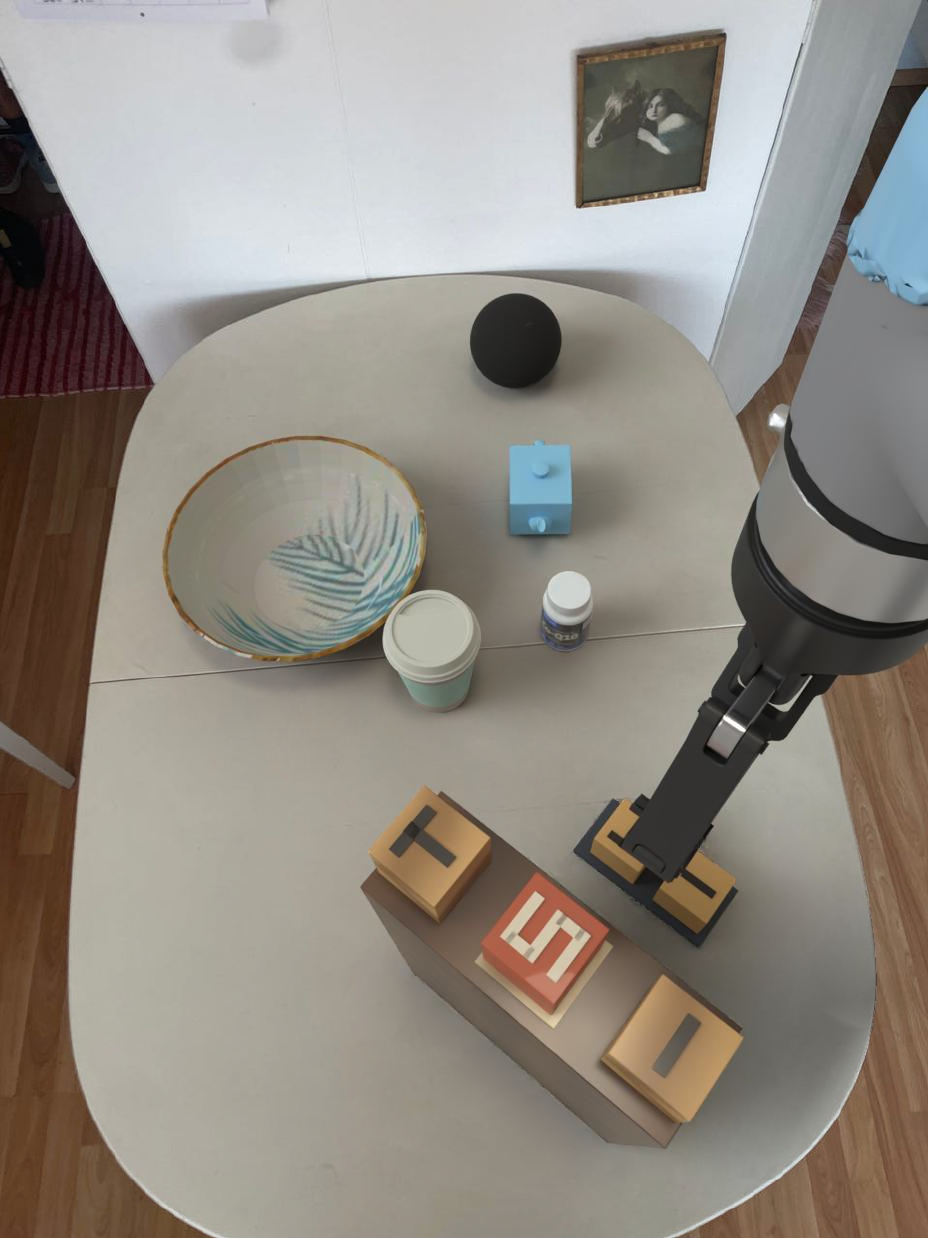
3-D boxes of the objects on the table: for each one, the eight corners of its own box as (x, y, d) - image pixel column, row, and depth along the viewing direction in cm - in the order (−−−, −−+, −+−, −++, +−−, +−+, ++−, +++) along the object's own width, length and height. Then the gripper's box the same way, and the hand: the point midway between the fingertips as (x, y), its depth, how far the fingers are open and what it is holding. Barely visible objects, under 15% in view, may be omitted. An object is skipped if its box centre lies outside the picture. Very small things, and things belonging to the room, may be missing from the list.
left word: (737, 891, 84) (750, 877, 80) (698, 948, 82) (709, 937, 78) (612, 799, 88) (618, 781, 84) (572, 851, 86) (576, 835, 82)
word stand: (659, 1066, 78) (764, 1018, 46) (607, 1143, 76) (679, 1151, 43) (464, 905, 85) (435, 763, 52) (411, 971, 82) (347, 866, 50)
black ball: (453, 370, 112) (448, 305, 103) (519, 326, 115) (519, 258, 106) (511, 421, 109) (511, 358, 100) (578, 375, 111) (583, 309, 102)
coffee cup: (498, 663, 95) (496, 604, 84) (460, 740, 92) (454, 688, 81) (418, 632, 97) (407, 570, 86) (379, 705, 94) (362, 650, 83)
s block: (602, 945, 52) (610, 929, 48) (551, 1016, 50) (554, 1005, 46) (534, 890, 53) (537, 870, 49) (482, 958, 52) (480, 943, 48)
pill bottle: (533, 643, 96) (535, 602, 88) (550, 603, 98) (553, 560, 90) (579, 659, 95) (585, 619, 87) (595, 619, 97) (602, 576, 89)
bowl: (401, 457, 107) (393, 409, 100) (460, 659, 95) (456, 621, 88) (172, 513, 105) (147, 468, 98) (204, 725, 93) (179, 692, 86)
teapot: (569, 567, 100) (573, 526, 93) (509, 567, 100) (509, 527, 93) (566, 470, 105) (570, 425, 99) (509, 470, 106) (509, 426, 99)
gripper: (935, 266, 38) (796, 551, 57) (550, 742, 30) (535, 893, 49) (1127, 354, 36) (915, 622, 55) (765, 899, 27) (662, 994, 46)
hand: (736, 750), depth 52 cm, fingers open, 13 cm apart
